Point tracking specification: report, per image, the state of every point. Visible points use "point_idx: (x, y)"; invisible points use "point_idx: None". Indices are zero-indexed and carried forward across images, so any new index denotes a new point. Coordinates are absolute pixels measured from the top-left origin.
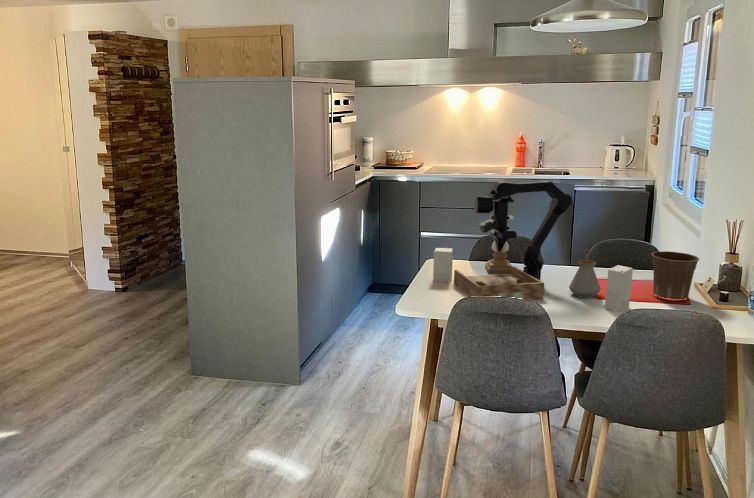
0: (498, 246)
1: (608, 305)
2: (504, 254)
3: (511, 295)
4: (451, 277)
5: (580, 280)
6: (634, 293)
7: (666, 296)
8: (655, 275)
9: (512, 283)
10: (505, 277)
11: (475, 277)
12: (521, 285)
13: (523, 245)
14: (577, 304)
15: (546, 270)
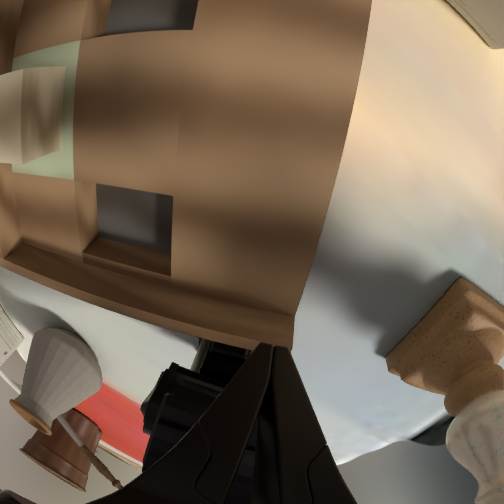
0: (218, 397)
1: None
2: (451, 406)
3: None
4: (477, 29)
5: (30, 360)
6: (95, 411)
7: None
8: (57, 438)
9: None
10: (11, 128)
11: (311, 44)
12: None
13: (240, 493)
14: (9, 278)
15: (342, 433)
